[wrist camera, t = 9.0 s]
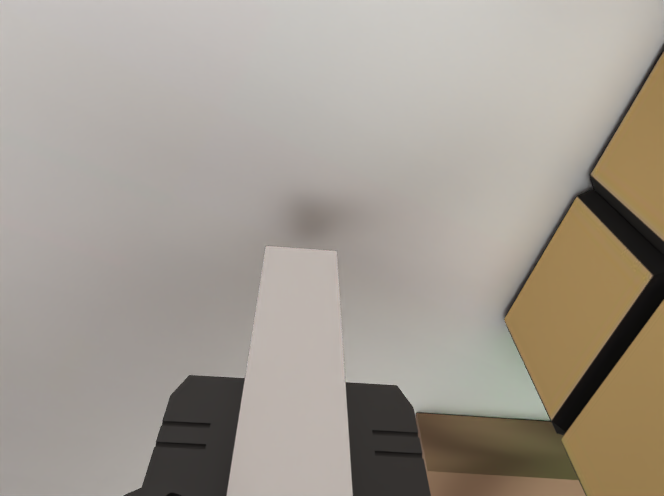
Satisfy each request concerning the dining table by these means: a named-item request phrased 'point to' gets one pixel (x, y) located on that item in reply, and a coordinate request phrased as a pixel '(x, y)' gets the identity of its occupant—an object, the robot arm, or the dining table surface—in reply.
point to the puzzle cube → (606, 313)
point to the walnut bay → (494, 457)
